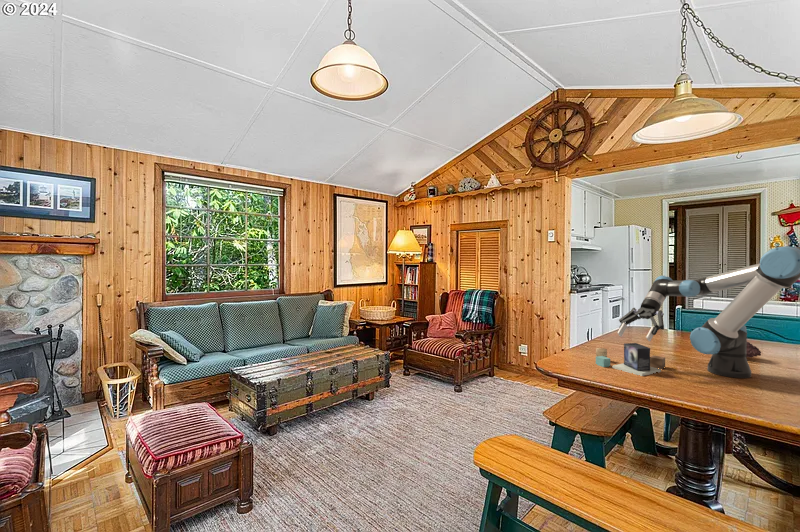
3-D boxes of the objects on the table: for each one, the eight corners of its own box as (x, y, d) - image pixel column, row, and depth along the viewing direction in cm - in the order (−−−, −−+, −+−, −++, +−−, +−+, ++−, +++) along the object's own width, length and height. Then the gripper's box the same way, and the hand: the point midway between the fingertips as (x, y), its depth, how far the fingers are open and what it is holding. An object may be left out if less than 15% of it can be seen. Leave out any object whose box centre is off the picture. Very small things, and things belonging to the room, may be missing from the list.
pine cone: (768, 362, 190) (768, 342, 189) (750, 363, 188) (751, 343, 188) (732, 353, 207) (732, 335, 207) (716, 354, 206) (716, 336, 205)
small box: (622, 364, 184) (622, 342, 184) (635, 364, 184) (636, 342, 184) (636, 371, 174) (637, 348, 173) (650, 370, 174) (651, 347, 174)
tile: (660, 371, 176) (660, 369, 176) (641, 376, 170) (641, 373, 170) (631, 364, 189) (631, 361, 189) (612, 368, 183) (612, 365, 183)
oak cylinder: (609, 361, 194) (609, 349, 194) (602, 362, 192) (602, 350, 192) (600, 359, 199) (600, 347, 199) (593, 360, 197) (593, 348, 197)
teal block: (610, 366, 185) (610, 358, 185) (603, 367, 184) (603, 359, 184) (602, 363, 190) (602, 356, 190) (595, 364, 189) (595, 356, 189)
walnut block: (665, 367, 183) (665, 357, 183) (661, 369, 180) (662, 359, 180) (653, 365, 187) (653, 355, 187) (649, 367, 184) (649, 357, 183)
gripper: (684, 310, 175) (664, 346, 168) (630, 305, 197) (612, 337, 191) (677, 299, 172) (657, 336, 166) (623, 296, 195) (604, 328, 188)
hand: (633, 337), depth 178 cm, fingers open, 13 cm apart
